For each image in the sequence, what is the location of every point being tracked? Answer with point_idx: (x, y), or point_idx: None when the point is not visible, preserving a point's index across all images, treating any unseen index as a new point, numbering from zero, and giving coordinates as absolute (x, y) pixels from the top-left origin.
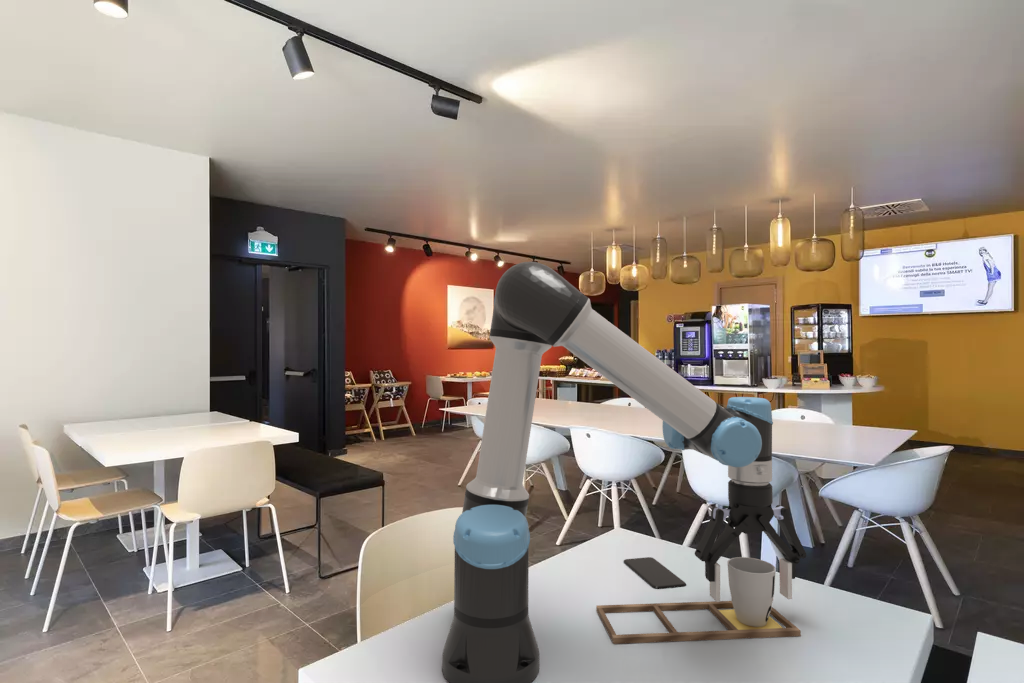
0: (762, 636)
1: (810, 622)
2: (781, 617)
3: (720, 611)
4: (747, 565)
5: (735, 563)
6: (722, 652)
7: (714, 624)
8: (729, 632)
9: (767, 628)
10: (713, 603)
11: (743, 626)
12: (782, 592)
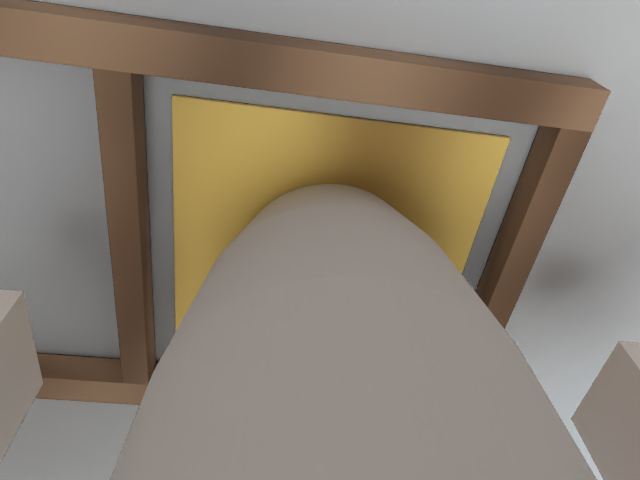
0: None
1: (632, 319)
2: None
3: (184, 123)
4: (500, 431)
5: (306, 453)
6: (19, 441)
7: (71, 251)
8: (88, 396)
9: None
10: (144, 70)
11: None
12: (610, 385)
